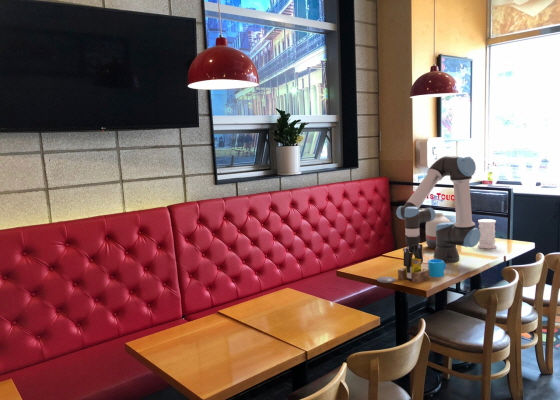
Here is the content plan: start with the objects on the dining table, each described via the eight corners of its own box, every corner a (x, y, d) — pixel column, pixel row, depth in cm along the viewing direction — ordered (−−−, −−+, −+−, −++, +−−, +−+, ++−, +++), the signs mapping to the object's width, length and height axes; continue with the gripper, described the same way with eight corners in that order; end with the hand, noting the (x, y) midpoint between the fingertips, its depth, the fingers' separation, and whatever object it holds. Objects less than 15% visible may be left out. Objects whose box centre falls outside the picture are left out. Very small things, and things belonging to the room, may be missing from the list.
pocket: (411, 274, 250) (410, 265, 249) (429, 278, 240) (429, 269, 240) (398, 278, 244) (398, 269, 243) (416, 283, 234) (416, 274, 233)
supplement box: (413, 280, 238) (413, 261, 237) (405, 278, 243) (405, 259, 242) (422, 278, 241) (421, 259, 239) (414, 276, 246) (413, 257, 245)
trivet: (385, 276, 249) (385, 275, 249) (399, 280, 241) (399, 278, 241) (373, 280, 244) (373, 279, 243) (387, 284, 235) (387, 283, 235)
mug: (437, 278, 240) (437, 263, 239) (425, 275, 247) (424, 261, 246) (451, 273, 246) (451, 259, 245) (439, 271, 253) (438, 257, 252)
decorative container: (482, 244, 309) (481, 218, 307) (499, 246, 300) (499, 219, 298) (474, 247, 301) (474, 221, 299) (492, 249, 293) (492, 222, 291)
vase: (424, 245, 317) (423, 212, 314) (448, 244, 314) (448, 211, 312) (428, 250, 300) (427, 216, 298) (454, 249, 298) (454, 215, 295)
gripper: (418, 231, 248) (419, 271, 250) (395, 237, 237) (396, 279, 239) (429, 233, 242) (430, 274, 244) (406, 239, 231) (408, 282, 233)
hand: (413, 276), depth 242 cm, fingers closed on supplement box, 6 cm apart
